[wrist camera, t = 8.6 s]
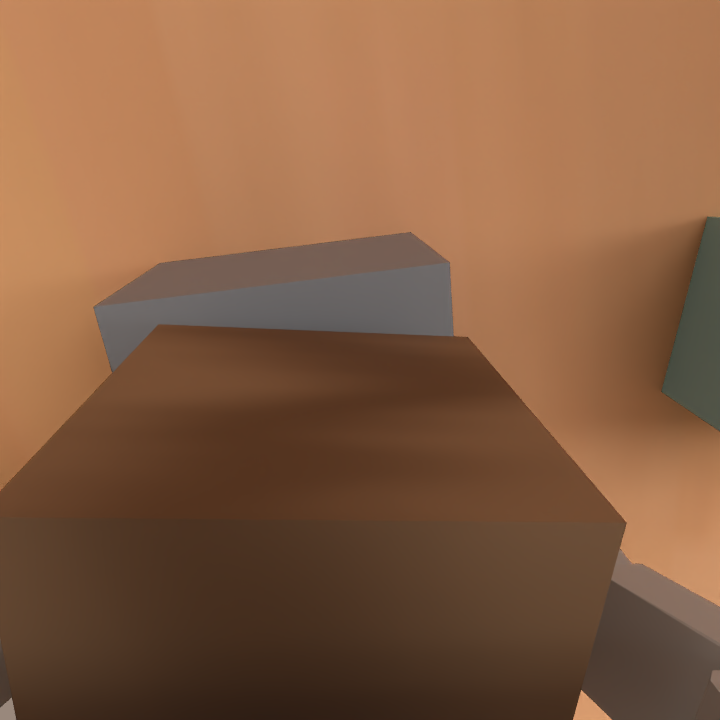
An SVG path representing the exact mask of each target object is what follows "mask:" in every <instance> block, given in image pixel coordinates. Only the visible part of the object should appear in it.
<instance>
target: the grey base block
mask: <svg viewBox="0 0 720 720" xmlns="http://www.w3.org/2000/svg"><path fill="white" fill-rule="evenodd" d="M94 311H95V314H96V318H97V321H98V325H99V328H100V332H101V335H102V339H103V342H104V346H105V349H106V352H107V356H108V359H109V363H110V366H111V370H112V373H113V372H114V371H115V370H116V369H117V368H118V366H119V365H120V364H121V363H122V362H123V361H124V360H125V359H126V358H127V357H128V356H129V355H130V354H131V353H132V352H133V351H134V350H135V349H136V347H137V346H138V345H139V344H140V343H141V342H142V341H143V340H144V339H145V338H146V337H147V336H148V335H149V334H150V333H151V332H152V331H153V330H154V328H155V327H156V326H157V325H158V324H165V325H189V326H213V327H238V328H262V329H286V330H311V331H335V332H359V333H383V334H408V335H432V336H454V335H453V316H452V297H451V279H450V262H448V261H447V260H446V259H445V258H443V257H442V256H441V255H439V254H438V253H437V252H435V251H434V250H433V249H432V248H430V247H429V246H428V245H426V244H425V243H424V242H423V241H421V240H420V239H419V238H417V237H416V236H415V235H414V234H412V233H411V232H409V233H400V234H392V235H384V236H376V237H368V238H360V239H352V240H343V241H335V242H327V243H319V244H311V245H303V246H295V247H287V248H278V249H270V250H262V251H254V252H246V253H238V254H230V255H222V256H213V257H205V258H197V259H189V260H181V261H173V262H165V263H159V264H158V265H156V266H155V267H153V268H152V269H150V270H149V271H147V272H146V273H144V274H143V275H141V276H140V277H138V278H137V279H135V280H133V281H132V282H130V283H129V284H127V285H126V286H124V287H123V288H121V289H120V290H118V291H117V292H115V293H114V294H112V295H111V296H109V297H108V298H106V299H105V300H103V301H102V302H100V303H98V304H97V305H95V306H94Z"/></svg>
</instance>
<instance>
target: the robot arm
mask: <svg viewBox="0 0 720 720" xmlns="http://www.w3.org/2000/svg"><path fill="white" fill-rule="evenodd" d="M581 690H582V691H583V692H584V693H585V694H586V695H587V696H588V697H590V698H591V699H592V700H593V701H594V702H595V703H596V704H597V705H598V706H599V707H600V708H601V709H602V710H603V711H604V712H605V713H606V714H607V715H608V716H609V717H610V718H611V719H612V720H720V607H719V606H717V605H716V604H714V603H712V602H710V601H708V600H706V599H705V598H703V597H701V596H699V595H697V594H696V593H694V592H692V591H690V590H688V589H686V588H685V587H683V586H681V585H679V584H677V583H676V582H674V581H672V580H670V579H668V578H667V577H665V576H663V575H661V574H659V573H657V572H656V571H654V570H652V569H650V568H648V567H647V566H645V565H643V564H632V563H631V562H630V561H629V559H628V558H627V557H626V556H625V554H624V553H623V552H622V551H621V549H619V553H618V556H617V560H616V564H615V567H614V571H613V575H612V578H611V582H610V586H609V589H608V593H607V597H606V600H605V604H604V607H603V611H602V615H601V618H600V622H599V626H598V629H597V633H596V637H595V640H594V644H593V648H592V651H591V655H590V659H589V662H588V666H587V670H586V673H585V677H584V681H583V684H582V688H581ZM11 697H12V695H11V690H10V685H9V680H8V675H7V670H6V665H5V660H4V655H3V650H2V645H1V640H0V707H1V706H2V705H3V704H4V703H6V702H7V701H8V700H9V699H10V698H11Z"/></svg>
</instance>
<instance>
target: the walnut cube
mask: <svg viewBox="0 0 720 720" xmlns="http://www.w3.org/2000/svg"><path fill="white" fill-rule="evenodd" d="M625 527H626V521H625V520H624V519H623V518H622V517H621V516H620V514H619V513H618V512H617V511H616V510H615V509H614V507H613V506H612V505H611V504H610V503H609V502H608V500H607V499H606V498H605V497H604V496H603V495H602V493H601V492H600V491H599V490H598V489H597V488H596V486H595V485H594V484H593V483H592V482H591V481H590V479H589V478H588V477H587V476H586V475H585V474H584V472H583V471H582V470H581V469H580V468H579V467H578V465H577V464H576V463H575V462H574V461H573V460H572V458H571V457H570V456H569V455H568V454H567V453H566V451H565V450H564V449H563V448H562V447H561V446H560V444H559V443H558V442H557V441H556V440H555V439H554V437H553V436H552V435H551V434H550V433H549V432H548V430H547V429H546V428H545V427H544V426H543V424H542V423H541V422H540V421H539V420H538V419H537V417H536V416H535V415H534V414H533V413H532V412H531V410H530V409H529V408H528V407H527V406H526V405H525V403H524V402H523V401H522V400H521V399H520V398H519V396H518V395H517V394H516V393H515V392H514V391H513V389H512V388H511V387H510V386H509V385H508V384H507V382H506V381H505V380H504V379H503V378H502V377H501V375H500V374H499V373H498V372H497V371H496V370H495V368H494V367H493V366H492V365H491V364H490V363H489V361H488V360H487V359H486V358H485V357H484V356H483V354H482V353H481V352H480V351H479V350H478V349H477V347H476V346H475V345H474V344H473V343H472V342H471V340H470V339H469V338H468V337H456V336H432V335H408V334H383V333H359V332H335V331H311V330H286V329H262V328H238V327H213V326H189V325H165V324H158V325H157V326H156V327H155V328H154V330H153V331H152V332H151V333H150V334H149V335H148V336H147V337H146V338H145V339H144V340H143V341H142V342H141V343H140V344H139V345H138V346H137V347H136V349H135V350H134V351H133V352H132V353H131V354H130V355H129V356H128V357H127V358H126V359H125V360H124V361H123V362H122V363H121V364H120V365H119V366H118V368H117V369H116V370H115V371H114V372H113V373H112V374H111V375H110V376H109V377H108V378H107V379H106V380H105V381H104V382H103V383H102V384H101V385H100V387H99V388H98V389H97V390H96V391H95V392H94V393H93V394H92V395H91V396H90V397H89V398H88V399H87V400H86V401H85V402H84V403H83V404H82V406H81V407H80V408H79V409H78V410H77V411H76V412H75V413H74V414H73V415H72V416H71V417H70V418H69V419H68V420H67V421H66V422H65V423H64V425H63V426H62V427H61V428H60V429H59V430H58V431H57V432H56V433H55V434H54V435H53V436H52V437H51V438H50V439H49V440H48V441H47V442H46V444H45V445H44V446H43V447H42V448H41V449H40V450H39V451H38V452H37V453H36V454H35V455H34V456H33V457H32V458H31V459H30V460H29V461H28V463H27V464H26V465H25V466H24V467H23V468H22V469H21V470H20V471H19V472H18V473H17V474H16V475H15V476H14V477H13V478H12V479H11V480H10V481H9V483H8V484H7V485H6V486H5V487H4V488H3V489H2V490H1V491H0V640H1V645H2V650H3V655H4V660H5V665H6V670H7V675H8V680H9V685H10V690H11V695H12V700H13V705H14V710H15V715H16V720H573V717H574V714H575V710H576V706H577V703H578V699H579V695H580V692H581V688H582V684H583V681H584V677H585V673H586V670H587V666H588V662H589V659H590V655H591V651H592V648H593V644H594V640H595V637H596V633H597V629H598V626H599V622H600V618H601V615H602V611H603V607H604V604H605V600H606V597H607V593H608V589H609V586H610V582H611V578H612V575H613V571H614V567H615V564H616V560H617V556H618V553H619V549H620V545H621V542H622V538H623V534H624V531H625Z"/></svg>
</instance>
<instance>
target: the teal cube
mask: <svg viewBox="0 0 720 720" xmlns="http://www.w3.org/2000/svg"><path fill="white" fill-rule="evenodd" d="M661 392H662V393H664V394H665V395H667V396H668V397H670V398H671V399H673V400H674V401H676V402H677V403H679V404H680V405H682V406H683V407H685V408H686V409H688V410H689V411H691V412H692V413H693V414H695V415H696V416H698V417H699V418H701V419H702V420H704V421H705V422H707V423H708V424H710V425H711V426H713V427H714V428H716V429H717V430H719V431H720V217H707V221H706V224H705V228H704V232H703V236H702V240H701V243H700V247H699V251H698V255H697V258H696V262H695V266H694V270H693V274H692V277H691V281H690V285H689V289H688V293H687V296H686V300H685V304H684V308H683V312H682V315H681V319H680V323H679V327H678V330H677V334H676V338H675V342H674V346H673V349H672V353H671V357H670V361H669V365H668V368H667V372H666V376H665V380H664V383H663V387H662V391H661Z"/></svg>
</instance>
